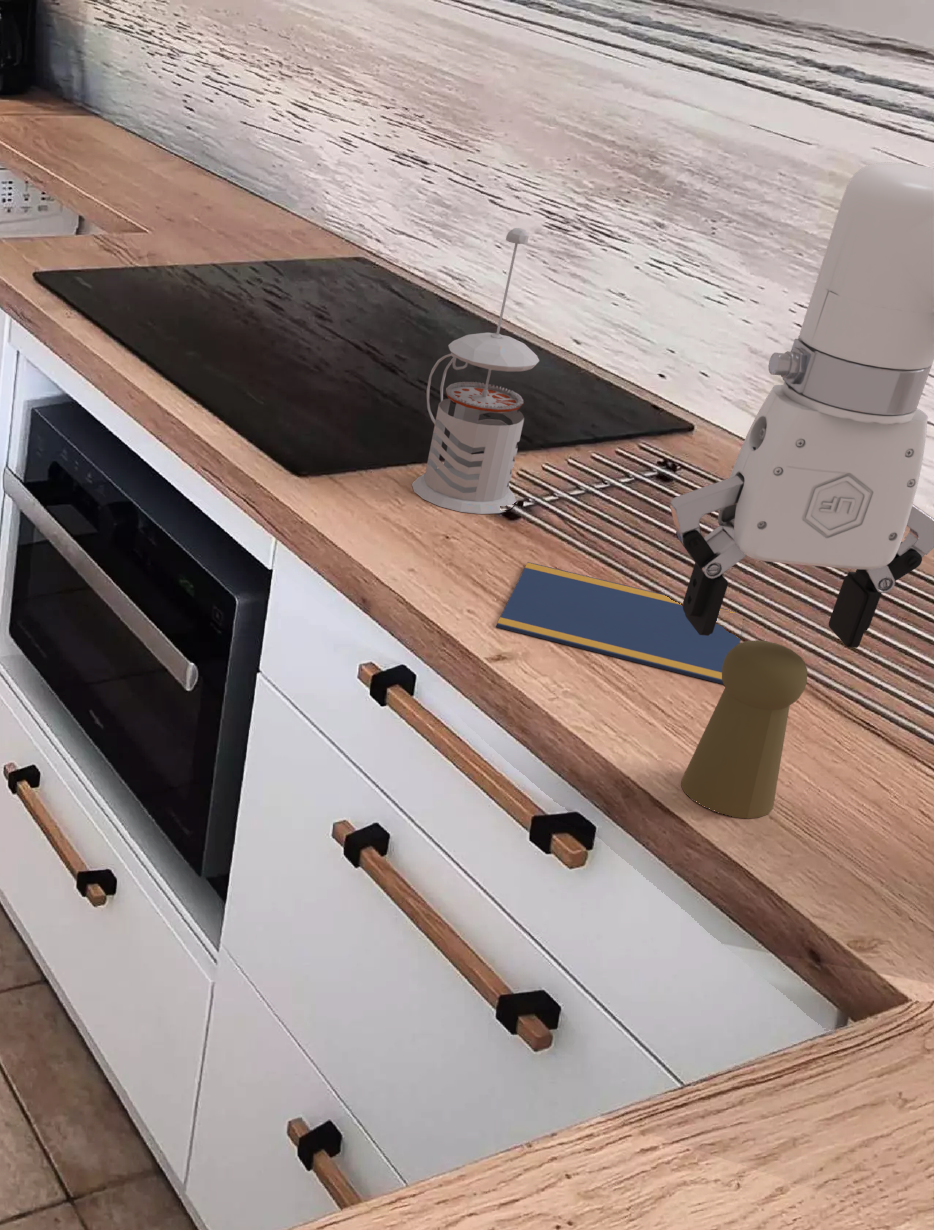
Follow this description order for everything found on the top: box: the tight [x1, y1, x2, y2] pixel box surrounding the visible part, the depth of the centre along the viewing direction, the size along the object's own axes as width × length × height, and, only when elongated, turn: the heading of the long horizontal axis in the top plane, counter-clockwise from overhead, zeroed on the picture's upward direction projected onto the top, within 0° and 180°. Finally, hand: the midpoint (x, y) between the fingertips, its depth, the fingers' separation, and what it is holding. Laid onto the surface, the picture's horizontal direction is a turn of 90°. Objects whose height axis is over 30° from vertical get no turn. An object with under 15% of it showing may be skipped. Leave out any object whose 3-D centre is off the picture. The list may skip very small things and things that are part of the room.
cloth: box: [495, 561, 741, 685], centre depth 139 cm, size 18×14×1 cm
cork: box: [680, 639, 808, 819], centre depth 114 cm, size 6×6×11 cm
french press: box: [411, 227, 540, 515], centre depth 157 cm, size 10×12×25 cm
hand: (770, 631), depth 111 cm, fingers open, 9 cm apart
